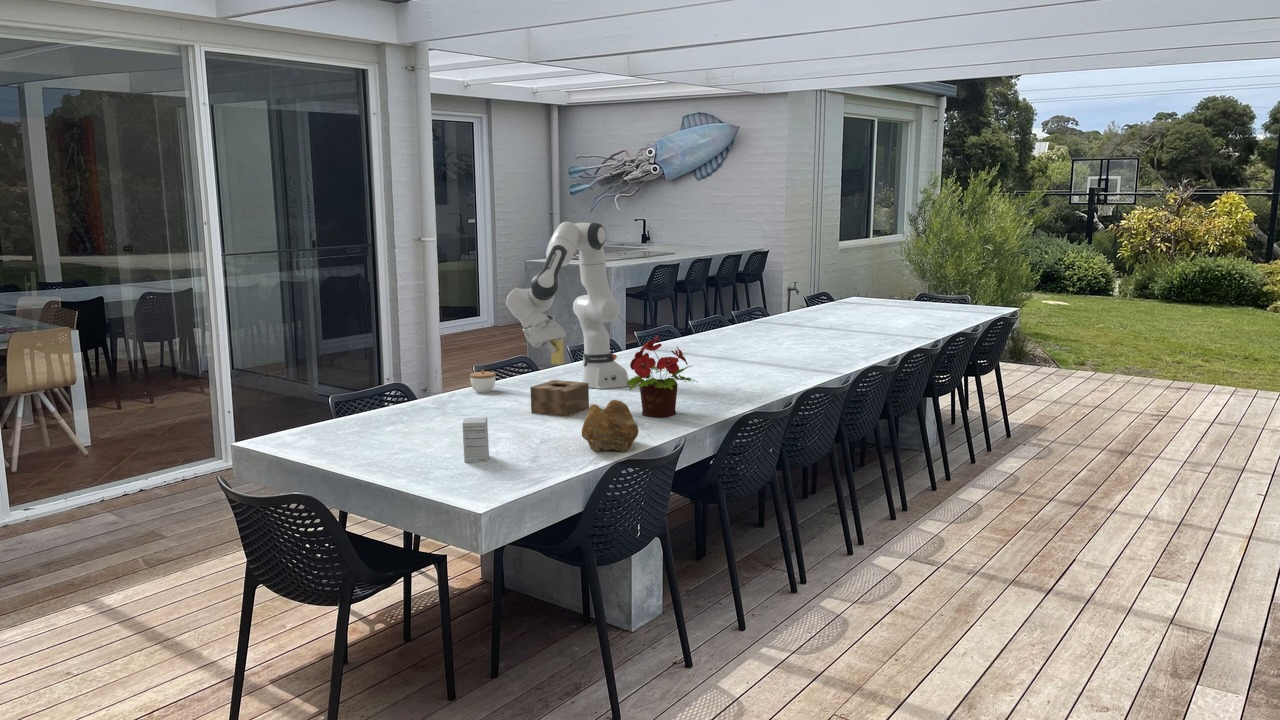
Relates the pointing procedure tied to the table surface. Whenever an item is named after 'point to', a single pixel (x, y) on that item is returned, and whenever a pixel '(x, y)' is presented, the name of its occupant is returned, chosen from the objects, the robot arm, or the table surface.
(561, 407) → the box
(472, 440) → the supplement box
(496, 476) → the table surface
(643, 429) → the table surface
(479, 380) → the lidded jar
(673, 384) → the potted plant
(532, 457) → the table surface
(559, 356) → the gold rectangular block
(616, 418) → the rough brown rock
